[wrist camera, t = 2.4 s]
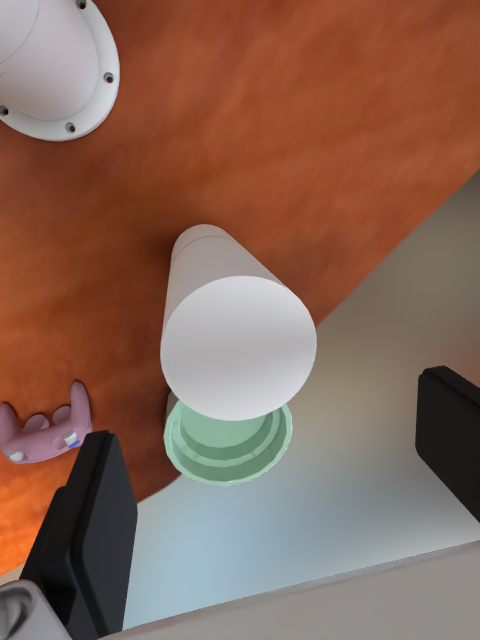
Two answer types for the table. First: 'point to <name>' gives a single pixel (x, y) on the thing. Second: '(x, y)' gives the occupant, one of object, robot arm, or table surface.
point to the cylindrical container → (231, 330)
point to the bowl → (224, 443)
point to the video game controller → (46, 430)
